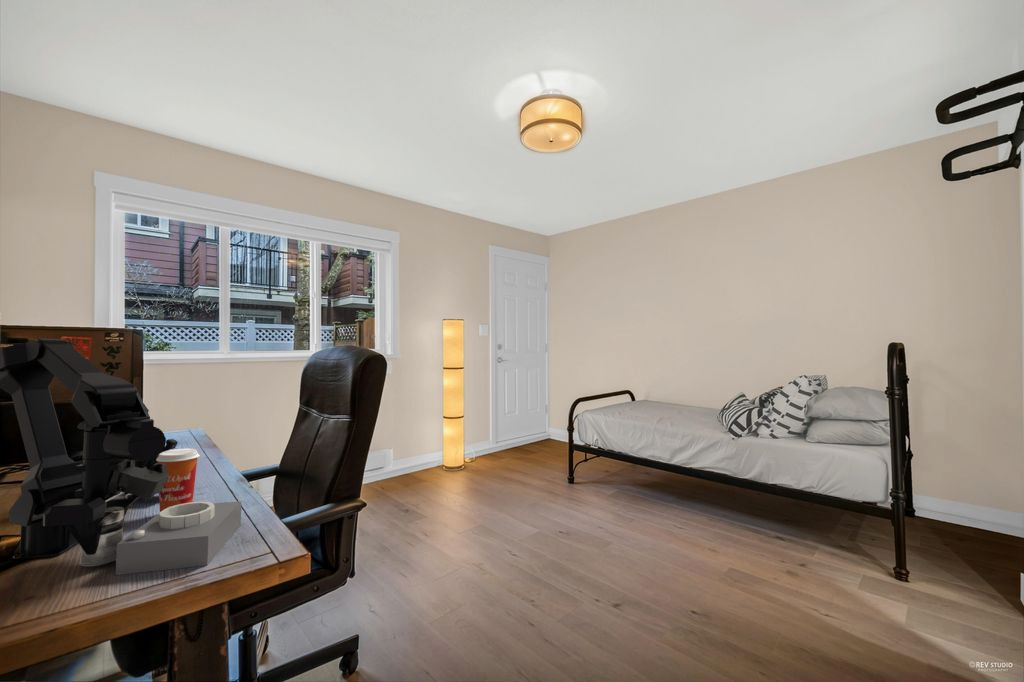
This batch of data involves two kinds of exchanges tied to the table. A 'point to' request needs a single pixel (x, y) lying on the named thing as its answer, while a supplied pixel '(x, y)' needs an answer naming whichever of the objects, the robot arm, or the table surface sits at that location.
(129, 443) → the robot arm
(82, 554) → the lens
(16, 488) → the table surface
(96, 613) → the table surface
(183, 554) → the camera body
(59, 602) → the table surface
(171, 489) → the paper cup
